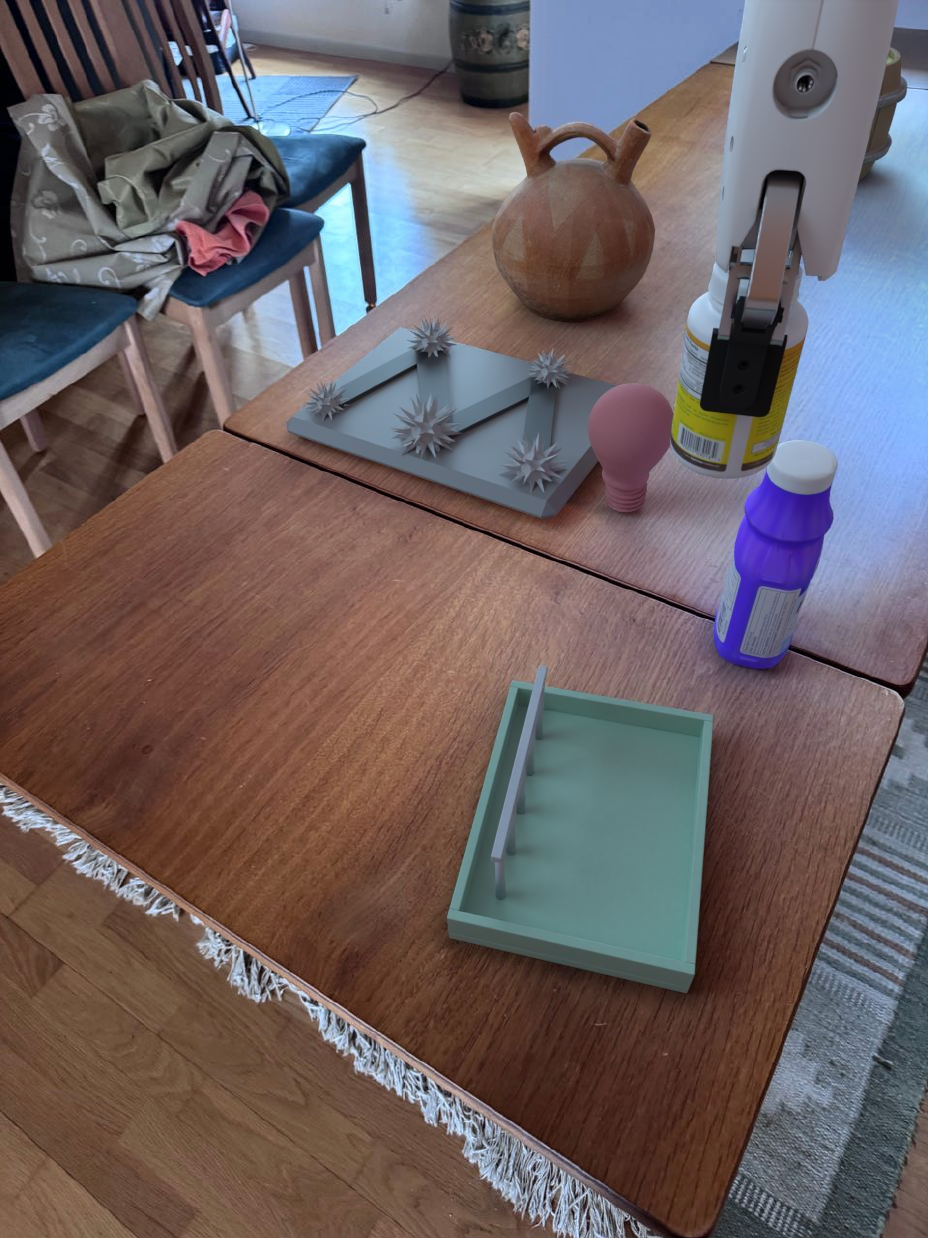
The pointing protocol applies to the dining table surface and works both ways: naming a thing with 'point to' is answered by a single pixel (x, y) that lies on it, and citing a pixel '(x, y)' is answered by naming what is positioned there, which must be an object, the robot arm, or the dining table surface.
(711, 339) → the robot arm
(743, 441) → the supplement bottle
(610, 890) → the dish rack
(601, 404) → the light bulb
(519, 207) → the jug
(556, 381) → the decorative plate
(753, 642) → the bottle
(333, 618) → the dining table surface
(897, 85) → the mug
